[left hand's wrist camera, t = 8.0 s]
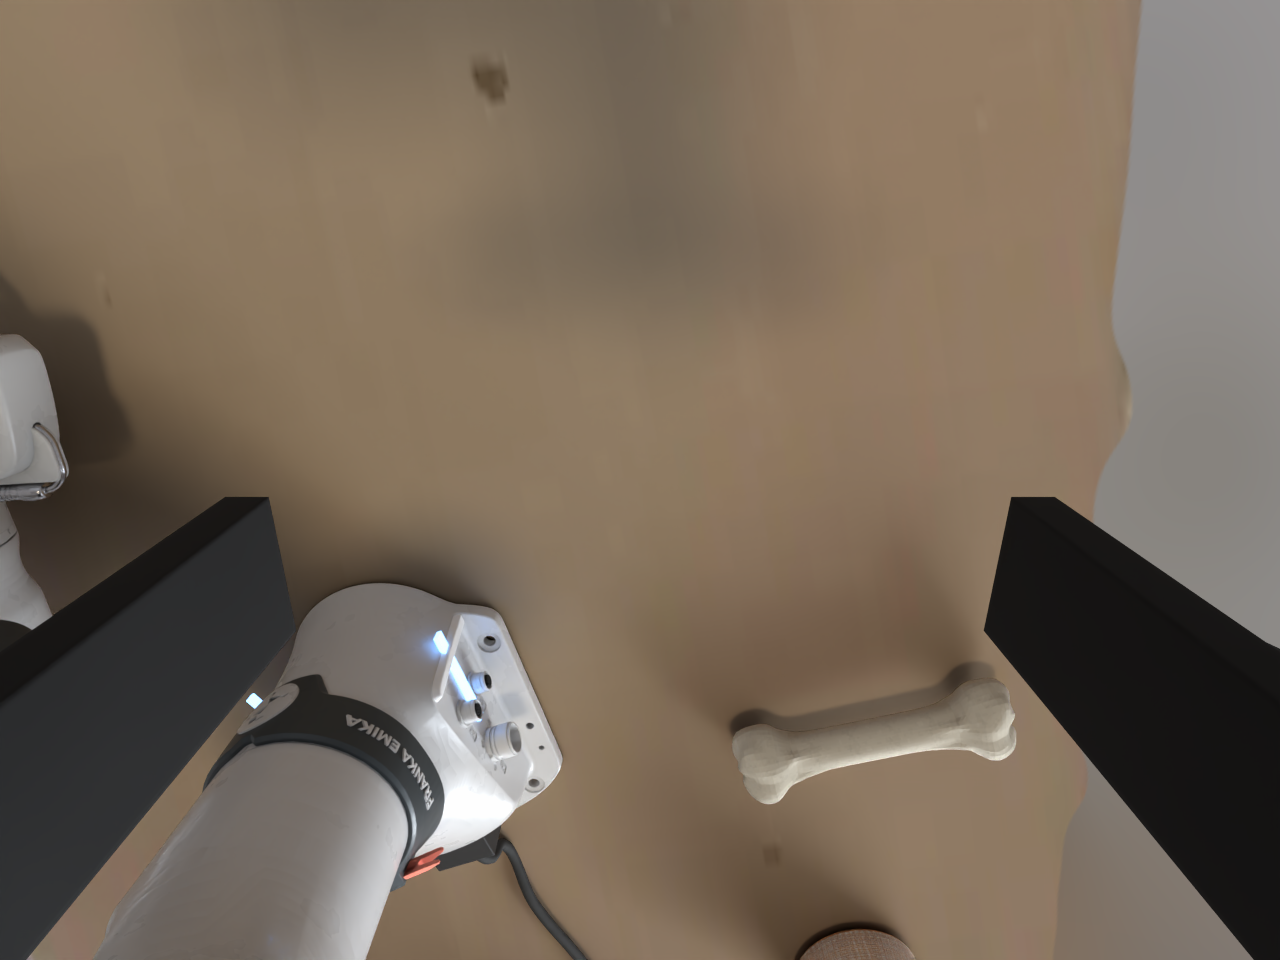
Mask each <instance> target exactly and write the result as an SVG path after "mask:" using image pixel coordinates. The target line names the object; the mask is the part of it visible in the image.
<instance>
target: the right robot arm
mask: <svg viewBox="0 0 1280 960" xmlns="http://www.w3.org/2000/svg"><path fill="white" fill-rule="evenodd" d="M68 475H69V467H68V463H67V461H66V458H65V455H64V452H63V450H62V447H61V444H60V433H59V424H58V418H57V412H56V407H55V402H54V398H53V393H52V389H51V385H50V381H49V377H48V374H47V370H46V367H45V364H44V361H43V358H42V356H41V354H40V352H39V351H38V350H37V349H36V348H35V347H34V346H33V345H31V344H30V343H29V342H28V341H27V340H26V339H24V338H23V337H22V336H20V335H18V334H3V335H0V652H1V651H2V650H4V649H5V648H7V647H8V646H10V645H11V644H12V643H14V642H15V641H17V640H18V639H20V638H21V637H23V636H24V635H26V634H27V633H28V632H30V631H31V630H33V629H34V628H36V627H37V626H39V625H40V624H42V623H43V622H44V621H46V620H47V619H49V618H50V617H52V613H51V611H50V608H49V606H48V603H47V601H46V598H45V596H44V594H43V592H42V589H41V588H40V586H39V585H38V584H37V583H36V582H35V580H34V579H33V578H32V577H31V576H30V575H29V574H28V573H27V571H26V570H25V568H24V566H23V564H22V562H21V558H20V552H19V534H18V531H17V529H16V526H15V523H14V521H13V519H12V517H11V514H10V512H9V509H8V507H7V505H6V502H7V501H12V500H23V501H38V500H43V499H47V498H50V497H51V496H52V494H53V492H54V491H56V490H58V489H59V488H61V486H62V485H63V484H64V482H65V480H66V477H67V476H68ZM48 482H54V483H53V484H52V485H51V484H50V483H48ZM486 636H492V637H494V638H495V640H489V639H487V638H486ZM247 702H248V703H249V704H250V705H251V706H252V707H254V708H255V709H254V710H253V711H252V712H251V714H250V715H249V716H248V717H247V718H246V720H245V721H244V722H243V723H242V725H241V726H240V727H239V729H238V731H237V734H236V735H235V736H234V738H233V739H232V740H231V742H230V743H229V744H228V746H227V747H226V748H225V750H224V751H223V753H222V754H221V755H220V757H219V758H218V760H217V761H216V763H215V764H214V765H213V767H212V768H211V770H210V772H209V773H208V775H207V778H206V780H205V783H204V787H203V792H202V794H201V795H200V797H199V798H198V799H197V801H196V802H195V803H194V805H193V806H192V807H191V809H190V810H189V811H188V813H187V814H186V815H185V817H184V818H183V819H182V821H181V822H180V823H179V824H178V826H177V827H176V828H175V830H174V831H173V832H172V834H171V835H170V836H169V838H168V839H167V840H166V842H165V843H164V844H163V846H162V847H161V848H160V850H159V851H158V852H157V854H156V855H155V856H154V858H153V859H152V860H151V862H150V863H149V864H148V866H147V867H146V868H145V870H144V871H143V872H142V874H141V875H140V876H139V878H138V879H137V880H136V882H135V883H134V884H133V886H132V887H131V888H130V889H129V891H128V892H127V893H126V895H125V896H124V897H123V899H122V900H121V901H120V902H119V904H118V905H117V906H116V908H115V910H114V912H113V914H112V916H111V918H110V920H109V923H108V925H107V929H106V934H105V939H104V940H103V942H102V944H101V946H100V947H99V949H98V951H97V953H96V955H95V956H94V958H93V960H365V959H366V956H367V954H368V951H369V948H370V945H371V942H372V939H373V937H374V934H375V931H376V928H377V925H378V922H379V920H380V917H381V914H382V911H383V908H384V906H385V903H386V900H387V897H388V894H389V892H391V891H393V890H396V889H398V888H400V887H402V886H404V885H405V883H406V880H407V879H408V878H411V877H413V876H416V875H418V874H420V873H423V872H425V871H427V870H429V869H431V868H433V867H434V866H436V867H437V869H438V870H439V871H442V870H445V869H449V868H452V867H455V866H459V865H462V864H466V863H469V862H473V861H476V860H477V861H479V862H481V863H483V864H491V863H494V862H496V861H497V859H498V858H499V856H500V854H501V852H502V850H503V851H504V852H505V853H506V855H507V856H508V858H509V860H510V862H511V864H512V867H513V869H514V872H515V875H516V877H517V880H518V883H519V886H520V888H521V891H522V893H523V895H524V897H525V899H526V901H527V903H528V905H529V906H530V908H531V909H532V911H533V912H534V914H535V915H536V916H537V918H538V919H539V920H540V921H541V923H542V924H543V925H544V926H545V928H546V929H547V930H548V931H549V932H550V933H551V934H552V936H553V937H554V938H555V939H556V940H557V941H558V942H559V943H560V944H561V945H562V947H563V948H564V949H565V950H566V951H567V952H568V953H569V955H570V956H571V957H572V958H573V959H574V960H587V959H586V957H585V956H584V955H583V954H582V953H581V951H580V950H579V949H578V948H577V947H576V945H575V944H574V943H573V942H572V941H571V940H570V938H569V937H568V936H567V935H566V934H565V933H564V932H563V931H562V929H561V928H560V927H559V926H558V925H557V924H556V923H555V921H554V920H553V919H552V918H551V917H550V915H549V914H548V913H547V912H546V910H545V909H544V908H543V906H542V905H541V903H540V902H539V900H538V899H537V897H536V896H535V894H534V892H533V890H532V888H531V885H530V883H529V880H528V878H527V875H526V872H525V870H524V867H523V865H522V862H521V860H520V857H519V855H518V853H517V851H516V850H515V848H514V846H513V845H512V843H511V842H509V841H508V840H506V839H504V838H501V839H498V837H499V833H500V828H501V824H502V823H503V822H504V821H506V820H507V819H508V818H509V816H510V815H511V814H512V813H513V812H514V810H515V809H516V808H517V807H519V806H521V805H523V804H525V803H526V802H528V801H530V800H531V799H533V798H534V797H535V796H537V795H538V794H539V793H541V792H542V791H543V790H544V789H545V788H546V787H547V786H548V785H549V784H550V783H551V782H552V781H553V780H554V778H555V777H556V775H557V774H558V772H559V771H560V768H561V765H562V761H563V758H562V754H561V752H560V749H559V747H558V745H557V742H556V740H555V738H554V735H553V733H552V731H551V728H550V726H549V724H548V722H547V719H546V717H545V715H544V712H543V710H542V708H541V706H540V703H539V701H538V699H537V696H536V694H535V692H534V690H533V687H532V685H531V683H530V680H529V678H528V676H527V674H526V671H525V669H524V667H523V664H522V662H521V660H520V658H519V655H518V653H517V651H516V648H515V646H514V644H513V642H512V639H511V637H510V635H509V632H508V630H507V628H506V626H505V623H504V621H503V619H502V617H501V615H500V614H499V613H498V612H497V611H495V610H494V609H491V608H488V607H484V606H478V605H467V604H455V603H451V602H448V601H446V600H443V599H441V598H439V597H436V596H434V595H432V594H429V593H427V592H425V591H422V590H419V589H416V588H412V587H408V586H404V585H398V584H389V583H371V584H362V585H357V586H352V587H349V588H346V589H343V590H340V591H338V592H336V593H334V594H332V595H330V596H328V597H326V598H325V599H323V600H322V601H321V602H319V603H318V604H317V605H316V606H315V607H314V608H313V609H312V610H311V611H310V612H309V613H308V614H307V616H306V617H305V618H304V620H303V622H302V623H301V625H300V627H299V630H298V632H297V635H296V639H295V643H294V648H293V651H292V654H291V657H290V659H289V662H288V664H287V666H286V668H285V670H284V672H283V674H282V676H281V678H280V680H279V682H278V684H277V686H276V687H275V689H274V691H273V692H272V693H270V694H269V695H268V696H267V697H266V698H265V699H264V700H263V701H262V700H261V699H260V698H259V697H258V696H256V695H255V694H254V693H253V694H252V695H251V696H250V697H249V698H248V699H247ZM532 779H537V780H532Z"/></svg>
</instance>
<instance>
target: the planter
mask: <svg viewBox="0 0 1280 960" xmlns="http://www.w3.org/2000/svg"><path fill="white" fill-rule="evenodd" d="M800 960H915V958H914V956H913V954H912V952H911V950H910V949H909V948H908V946H907V945H906V944H904V943H903V942H902V941H901V940H899V939H898V938H896V937H894V936H892V935H889V934H887V933H884V932H880V931H876V930H870V929H850V930H844V931H839V932H836V933H833V934H831V935H828V936H826V937H824V938H822V939H820V940H819V941H817V942H816V943H814V944H813V945H812V946H811V947H809V948H808V949H807V950H806V952H805V953H804V954H803V955H802V957H801V958H800Z"/></svg>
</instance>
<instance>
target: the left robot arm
mask: <svg viewBox="0 0 1280 960" xmlns="http://www.w3.org/2000/svg"><path fill="white" fill-rule="evenodd" d="M295 631H296V627H295V623H294V618H293V613H292V608H291V603H290V598H289V593H288V589H287V584H286V579H285V574H284V569H283V564H282V560H281V555H280V550H279V545H278V540H277V535H276V531H275V526H274V521H273V516H272V511H271V506H270V501H269V497H225V498H223V499H222V500H220V501H219V502H217V503H216V504H214V505H213V506H212V507H210V508H209V509H207V510H206V511H204V512H203V513H201V514H200V515H198V516H197V517H196V518H194V519H193V520H191V521H190V522H188V523H187V524H185V525H184V526H182V527H181V528H180V529H178V530H177V531H175V532H174V533H172V534H171V535H169V536H168V537H166V538H165V539H164V540H162V541H161V542H159V543H158V544H156V545H155V546H153V547H152V548H151V549H149V550H148V551H146V552H145V553H143V554H142V555H140V556H139V557H137V558H136V559H135V560H133V561H132V562H130V563H129V564H127V565H126V566H124V567H123V568H121V569H120V570H119V571H117V572H116V573H114V574H113V575H111V576H110V577H108V578H107V579H105V580H104V581H103V582H101V583H100V584H98V585H97V586H95V587H94V588H92V589H91V590H89V591H88V592H87V593H85V594H84V595H82V596H81V597H79V598H78V599H76V600H75V601H73V602H72V603H71V604H69V605H68V606H66V607H65V608H63V609H62V610H60V611H59V612H58V613H56V614H55V615H53V616H52V617H50V618H49V619H47V620H46V621H44V622H43V623H42V624H40V625H39V626H37V627H36V628H34V629H33V630H31V631H30V632H28V633H27V634H26V635H24V636H23V637H21V638H20V639H18V640H17V641H15V642H14V643H12V644H11V645H10V646H8V647H7V648H5V649H4V650H2V651H1V652H0V960H26V959H27V958H28V957H29V956H30V954H31V953H32V952H33V951H34V950H35V948H36V947H37V946H38V945H39V943H40V942H41V941H42V940H43V939H44V937H45V936H46V935H47V934H48V932H49V931H50V930H51V929H52V928H53V926H54V925H55V924H56V923H57V921H58V920H59V919H60V918H61V917H62V915H63V914H64V913H65V912H66V911H67V909H68V908H69V907H70V906H71V904H72V903H73V902H74V901H75V900H76V898H77V897H78V896H79V895H80V893H81V892H82V891H83V890H84V889H85V887H86V886H87V885H88V884H89V882H90V881H91V880H92V879H93V878H94V876H95V875H96V874H97V873H98V872H99V870H100V869H101V868H102V867H103V865H104V864H105V863H106V862H107V861H108V859H109V858H110V857H111V856H112V854H113V853H114V852H115V851H116V850H117V848H118V847H119V846H120V845H121V843H122V842H123V841H124V840H125V839H126V837H127V836H128V835H129V834H130V833H131V831H132V830H133V829H134V828H135V826H136V825H137V824H138V823H139V822H140V820H141V819H142V818H143V817H144V815H145V814H146V813H147V812H148V811H149V809H150V808H151V807H152V806H153V804H154V803H155V802H156V801H157V800H158V798H159V797H160V796H161V795H162V794H163V792H164V791H165V790H166V789H167V787H168V786H169V785H170V784H171V783H172V781H173V780H174V779H175V778H176V776H177V775H178V774H179V773H180V772H181V770H182V769H183V768H184V767H185V765H186V764H187V763H188V762H189V761H190V759H191V758H192V757H193V756H194V755H195V753H196V752H197V751H198V750H199V748H200V747H201V746H202V745H203V744H204V742H205V741H206V740H207V739H208V737H209V736H210V735H211V734H212V733H213V731H214V730H215V729H216V728H217V726H218V725H219V724H220V723H221V722H222V720H223V719H224V718H225V717H226V716H227V714H228V713H229V712H230V711H231V709H232V708H233V707H234V706H235V705H236V703H237V702H238V701H239V700H240V698H241V697H242V696H243V695H244V694H245V692H246V691H247V690H248V689H249V687H250V686H251V685H252V684H253V683H254V681H255V680H256V679H257V678H258V677H259V675H260V674H261V673H262V672H263V670H264V669H265V668H266V667H267V666H268V664H269V663H270V662H271V661H272V659H273V658H274V657H275V656H276V655H277V653H278V652H279V651H280V650H281V649H282V647H283V646H284V645H285V644H286V642H287V641H288V640H289V639H290V638H291V636H292V635H293V634H294V633H295ZM984 631H985V633H986V634H987V635H988V636H989V638H990V639H991V640H992V641H993V642H994V644H995V645H996V646H997V647H998V649H999V650H1000V651H1001V652H1002V653H1003V655H1004V656H1005V657H1006V658H1007V659H1008V661H1009V662H1010V663H1011V664H1012V666H1013V667H1014V668H1015V669H1016V670H1017V672H1018V673H1019V674H1020V675H1021V677H1022V678H1023V679H1024V680H1025V681H1026V683H1027V684H1028V685H1029V686H1030V688H1031V689H1032V690H1033V691H1034V692H1035V694H1036V695H1037V696H1038V697H1039V698H1040V700H1041V701H1042V702H1043V703H1044V705H1045V706H1046V707H1047V708H1048V709H1049V711H1050V712H1051V713H1052V714H1053V716H1054V717H1055V718H1056V719H1057V720H1058V722H1059V723H1060V724H1061V725H1062V726H1063V728H1064V729H1065V730H1066V731H1067V733H1068V734H1069V735H1070V736H1071V737H1072V739H1073V740H1074V741H1075V742H1076V744H1077V745H1078V746H1079V747H1080V748H1081V750H1082V751H1083V752H1084V753H1085V755H1086V756H1087V757H1088V758H1089V759H1090V761H1091V762H1092V763H1093V764H1094V765H1095V767H1096V768H1097V769H1098V770H1099V772H1100V773H1101V774H1102V775H1103V776H1104V778H1105V779H1106V780H1107V781H1108V783H1109V784H1110V785H1111V786H1112V787H1113V789H1114V790H1115V791H1116V792H1117V793H1118V795H1119V796H1120V797H1121V798H1122V800H1123V801H1124V802H1125V803H1126V804H1127V806H1128V807H1129V808H1130V809H1131V811H1132V812H1133V813H1134V814H1135V815H1136V817H1137V818H1138V819H1139V820H1140V822H1141V823H1142V824H1143V825H1144V826H1145V828H1146V829H1147V830H1148V831H1149V833H1150V834H1151V835H1152V836H1153V837H1154V839H1155V840H1156V841H1157V842H1158V843H1159V845H1160V846H1161V847H1162V848H1163V850H1164V851H1165V852H1166V853H1167V854H1168V856H1169V857H1170V858H1171V859H1172V861H1173V862H1174V863H1175V864H1176V865H1177V867H1178V868H1179V869H1180V870H1181V871H1182V873H1183V874H1184V875H1185V876H1186V878H1187V879H1188V880H1189V881H1190V882H1191V884H1192V885H1193V886H1194V887H1195V889H1196V890H1197V891H1198V892H1199V893H1200V895H1201V896H1202V897H1203V898H1204V899H1205V901H1206V902H1207V903H1208V904H1209V906H1210V907H1211V908H1212V909H1213V911H1214V912H1215V913H1216V914H1217V915H1218V917H1219V918H1220V919H1221V920H1222V921H1223V923H1224V924H1225V925H1226V926H1227V928H1228V929H1229V930H1230V931H1231V932H1232V934H1233V935H1234V936H1235V937H1236V939H1237V940H1238V941H1239V942H1240V943H1241V945H1242V946H1243V947H1244V948H1245V950H1246V951H1247V952H1248V953H1249V954H1250V956H1251V957H1252V958H1253V959H1254V960H1280V649H1279V648H1277V647H1275V646H1273V645H1271V644H1268V643H1266V642H1265V641H1263V640H1262V639H1260V638H1259V637H1257V636H1256V635H1254V634H1253V633H1252V632H1250V631H1249V630H1247V629H1246V628H1244V627H1243V626H1241V625H1240V624H1238V623H1237V622H1236V621H1234V620H1233V619H1231V618H1230V617H1228V616H1227V615H1225V614H1224V613H1222V612H1221V611H1220V610H1218V609H1217V608H1215V607H1214V606H1212V605H1211V604H1209V603H1208V602H1206V601H1205V600H1204V599H1202V598H1201V597H1199V596H1198V595H1196V594H1195V593H1193V592H1192V591H1190V590H1189V589H1188V588H1186V587H1185V586H1183V585H1182V584H1180V583H1179V582H1177V581H1176V580H1175V579H1173V578H1172V577H1170V576H1169V575H1167V574H1166V573H1164V572H1163V571H1161V570H1160V569H1159V568H1157V567H1156V566H1154V565H1153V564H1151V563H1150V562H1148V561H1147V560H1145V559H1144V558H1143V557H1141V556H1140V555H1138V554H1137V553H1135V552H1134V551H1132V550H1131V549H1129V548H1128V547H1127V546H1125V545H1124V544H1122V543H1121V542H1119V541H1118V540H1116V539H1115V538H1114V537H1112V536H1111V535H1109V534H1108V533H1106V532H1105V531H1103V530H1102V529H1100V528H1099V527H1098V526H1096V525H1095V524H1093V523H1092V522H1090V521H1089V520H1087V519H1086V518H1084V517H1083V516H1082V515H1080V514H1079V513H1077V512H1076V511H1074V510H1073V509H1071V508H1070V507H1068V506H1067V505H1066V504H1064V503H1063V502H1061V501H1060V500H1058V499H1057V498H1055V497H1011V501H1010V506H1009V511H1008V516H1007V521H1006V526H1005V531H1004V535H1003V540H1002V545H1001V550H1000V555H999V560H998V564H997V569H996V574H995V579H994V584H993V589H992V593H991V598H990V603H989V608H988V613H987V618H986V623H985V627H984Z"/></svg>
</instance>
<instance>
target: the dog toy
mask: <svg viewBox="0 0 1280 960" xmlns="http://www.w3.org/2000/svg"><path fill="white" fill-rule="evenodd" d="M1014 717H1015V712H1014V711H1013V709H1012V707H1011V704H1010V697H1009V691H1008V690H1007V688H1006V687H1005V685H1004V684H1002V683H1001V682H1000V681H998V680H997V679H993V678H982V679H976V680H971V681H967V682H964V683H963V684H961V685H960V686H959V687H957V688H956V690H955V691H954V692H953V693H952V694H951V695H949V696H947V697H945V698H944V699H942V700H941V701H939V702H937V703H935V704H932V705H929V706H926V707H922V708H918V709H914V710H910V711H905V712H901V713H896V714H891V715H886V716H881V717H876V718H871V719H866V720H861V721H856V722H852V723H847V724H842V725H837V726H832V727H827V728H821V729H816V730H809V731H799V732H792V731H786V730H779V729H776V728H774V727H772V726H770V725H767V724H756V725H752V726H748V727H745V728H743V729H740V730H739V731H737V732H736V733H735V735H734V737H733V740H732V750H733V754H734V756H735V757H736V759H737V760H738V763H739V764H738V768H739V771H740V772H741V773H742V774H743V782H744V785H745V787H746V789H747V790H748V792H749V793H750V795H751V796H752V797H753V798H755V799H756V800H757V801H759V802H761V803H765V804H774V803H776V802H779V801H780V800H781V799H782V798H783V796H784V795H785V793H786V792H787V790H788V789H789V788H790V787H791V786H792V785H794V784H796V783H798V782H800V781H802V780H804V779H806V778H809V777H811V776H813V775H816V774H819V773H821V772H824V771H827V770H830V769H834V768H839V767H843V766H848V765H853V764H858V763H863V762H868V761H873V760H878V759H884V758H889V757H894V756H899V755H904V754H909V753H915V752H921V751H927V750H943V749H956V750H971V751H973V752H975V753H977V754H979V755H981V756H983V757H985V758H987V759H990V760H1001V759H1004V758H1006V757H1007V756H1009V755H1010V754H1011V753H1012V752H1013V750H1014V749H1015V745H1016V731H1015V728H1014V727H1013V726H1012V722H1013V719H1014Z"/></svg>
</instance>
